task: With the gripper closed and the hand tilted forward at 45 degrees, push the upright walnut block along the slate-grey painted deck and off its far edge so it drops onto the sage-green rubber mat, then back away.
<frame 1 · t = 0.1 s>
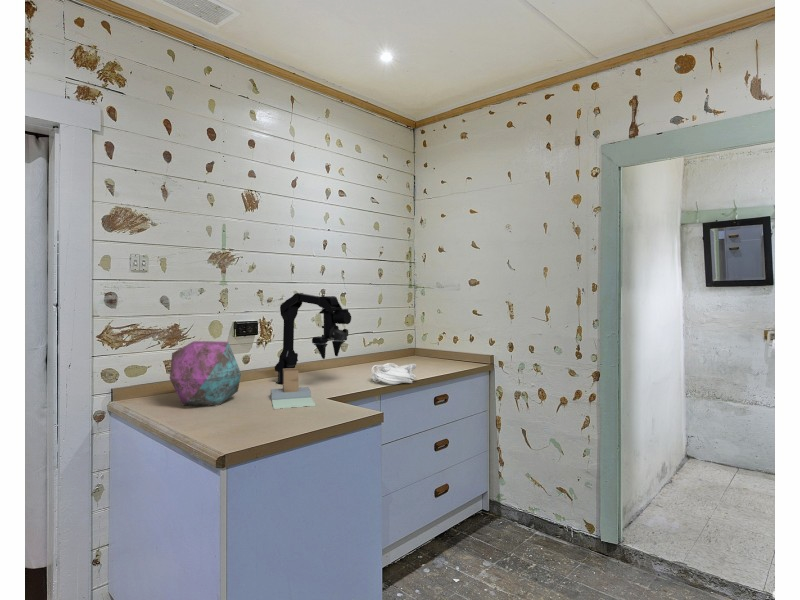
hand: (330, 357, 220), 15 cm above the counter, tool pointing down, fingers open, 9 cm apart
mat: (293, 403, 193), on the counter
block: (290, 390, 203), point 3 cm above the counter, touching deck
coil: (393, 382, 239), on the counter
decorative object: (206, 403, 195), on the counter
deck: (290, 397, 204), on the counter
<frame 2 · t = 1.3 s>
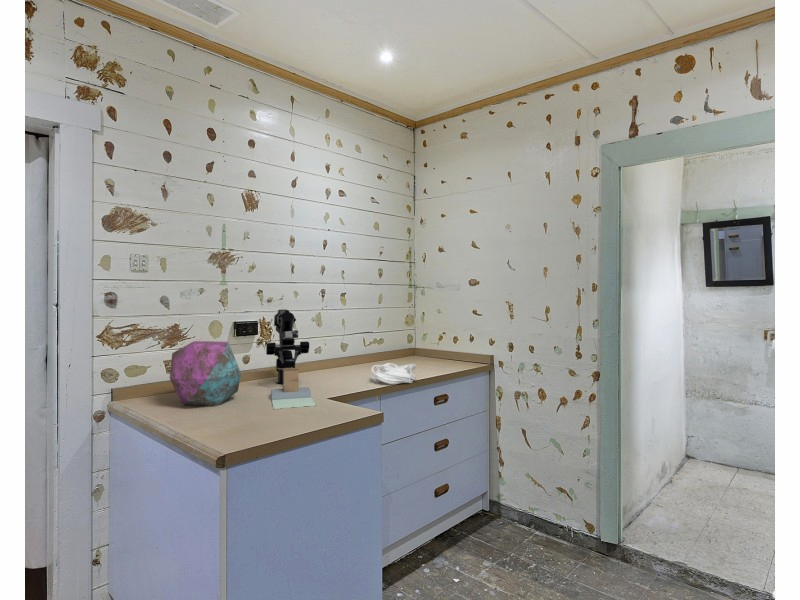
hand: (289, 363, 210), 14 cm above the counter, tool tilted 45°, fingers open, 5 cm apart
nothing on the counter moved.
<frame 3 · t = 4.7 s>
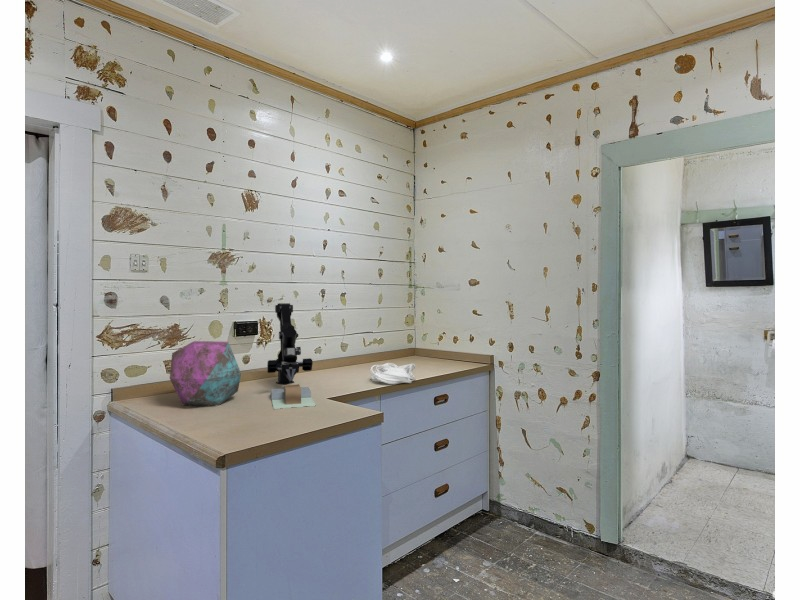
hand: (291, 381, 201), 7 cm above the counter, tool tilted 45°, fingers closed
block: (291, 391, 199), point 3 cm above the counter, tilted 90°, touching mat
everything else where it was.
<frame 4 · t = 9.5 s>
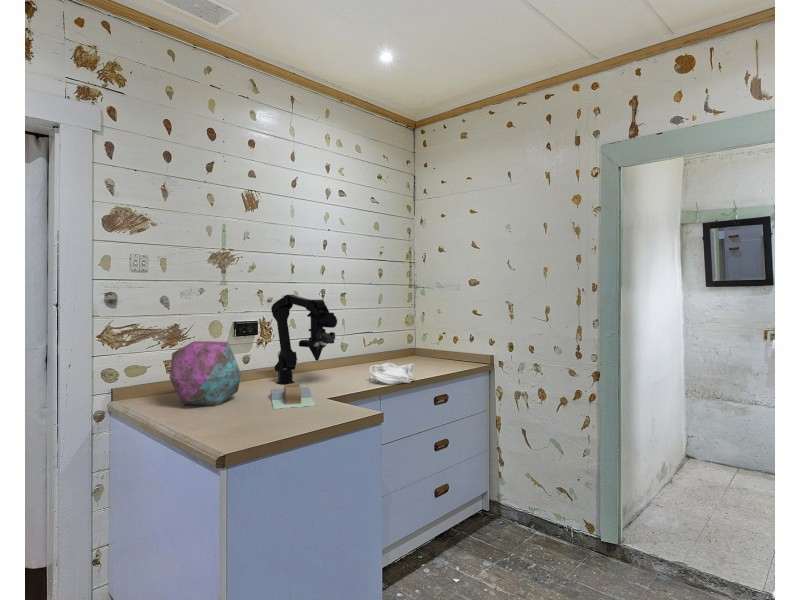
hand: (317, 360, 222), 13 cm above the counter, tool pointing down, fingers closed
at the end: block touching mat; block 6.2 cm from the mat (horizontally) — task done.
